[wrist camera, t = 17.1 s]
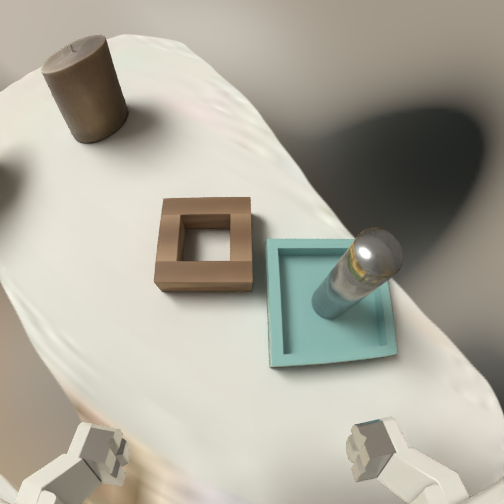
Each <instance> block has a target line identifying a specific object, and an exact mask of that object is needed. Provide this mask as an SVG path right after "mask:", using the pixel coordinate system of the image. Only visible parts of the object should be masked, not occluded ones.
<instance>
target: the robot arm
mask: <svg viewBox="0 0 504 504" xmlns="http://www.w3.org/2000/svg"><path fill="white" fill-rule="evenodd" d="M351 432H352V435H350V436H349V437H348V439H347V442H346V452H347V456H348V459H349V460H350V461H352V462H353V463H354V464H353V466H352V472H353V475H354V478H355V481H356V482H360V481H365V480H369V479H373V478H377V479H378V480H379V481H380V482H381V483H383V484H384V485H385V486H386V487H388V488H389V489H390V490H391V491H392V492H394V493H395V494H396V495H397V496H399V497H400V498H401V499H402V500H404V501H405V502H406V503H408V504H504V477H503V478H502V479H500V480H499V481H497V482H496V483H494V484H492V485H491V486H489V487H488V488H486V489H484V490H483V491H481V492H479V493H478V494H476V495H474V496H472V497H471V498H470V497H469V495H468V493H467V491H466V489H465V487H464V485H463V483H462V481H461V479H460V477H459V475H458V473H456V472H454V471H453V470H451V469H449V468H447V467H445V466H444V465H442V464H440V463H438V462H437V461H435V460H433V459H431V458H430V457H428V456H426V455H424V454H423V453H421V452H419V451H418V450H416V449H414V448H409V446H408V444H407V442H406V440H405V438H404V436H403V434H402V432H401V430H400V428H399V426H398V424H397V422H396V420H395V418H393V417H388V418H384V419H380V420H379V419H378V420H374V421H369V422H365V423H360V424H355V425H354V426H352V429H351ZM122 436H123V433H122V432H121V430H120V429H117V428H111V427H105V426H100V425H95V424H90V423H85V422H82V423H81V424H80V425H79V426H78V428H77V431H76V433H75V435H74V438H73V440H72V443H71V445H70V448H69V450H68V453H67V454H62V455H61V456H59V457H58V458H56V459H55V460H53V461H52V462H50V463H49V464H48V465H46V466H45V467H43V468H42V469H40V470H39V471H37V472H35V473H34V474H33V475H31V476H29V477H28V478H27V479H25V480H24V481H23V483H22V486H21V488H20V490H19V493H18V495H17V498H16V501H15V503H14V504H81V503H82V502H83V501H84V500H85V499H87V498H88V497H89V496H90V495H91V494H92V493H93V492H94V491H95V490H96V489H97V488H98V487H99V486H100V485H101V484H102V483H107V484H112V485H117V486H123V482H124V478H125V474H126V472H125V470H124V468H123V467H124V466H125V465H126V464H128V461H129V451H130V450H129V445H128V443H127V441H126V440H124V439H123V438H122ZM101 482H102V483H101ZM0 504H9V503H8V502H6V501H4V500H2V499H0Z"/></svg>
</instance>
